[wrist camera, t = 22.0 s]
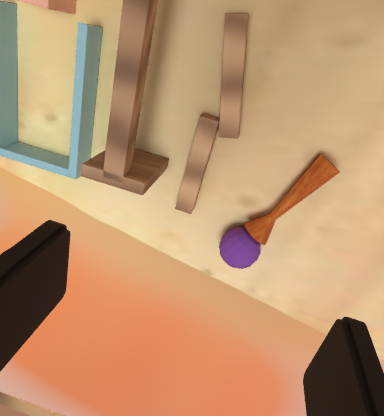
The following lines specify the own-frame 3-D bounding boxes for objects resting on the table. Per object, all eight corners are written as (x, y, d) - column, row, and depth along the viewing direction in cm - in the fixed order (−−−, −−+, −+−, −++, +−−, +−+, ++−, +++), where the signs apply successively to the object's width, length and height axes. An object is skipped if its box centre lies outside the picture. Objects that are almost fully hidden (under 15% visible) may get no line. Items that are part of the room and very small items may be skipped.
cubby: (8, 2, 44) (-15, -3, 40) (102, 27, 42) (87, 25, 39) (11, 146, 53) (-8, 153, 49) (88, 170, 52) (75, 179, 48)
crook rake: (146, -78, 37) (106, -123, 28) (215, -62, 36) (197, -102, 27) (116, 153, 49) (80, 176, 40) (166, 168, 49) (142, 195, 39)
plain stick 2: (227, 15, 39) (225, 13, 37) (248, 15, 39) (247, 13, 37) (221, 133, 45) (218, 137, 43) (239, 134, 45) (237, 138, 43)
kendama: (354, 186, 40) (243, 283, 48) (336, 168, 46) (238, 258, 53) (322, 156, 39) (212, 262, 46) (307, 142, 44) (210, 239, 52)
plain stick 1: (203, 113, 45) (200, 116, 42) (221, 118, 44) (218, 121, 42) (179, 202, 51) (175, 208, 49) (194, 207, 51) (191, 214, 49)
